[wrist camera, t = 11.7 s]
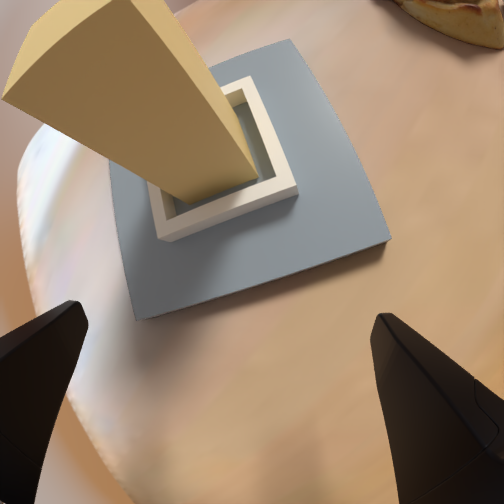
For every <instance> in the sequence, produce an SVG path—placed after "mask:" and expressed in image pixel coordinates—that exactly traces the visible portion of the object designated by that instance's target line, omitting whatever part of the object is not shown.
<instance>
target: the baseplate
mask: <svg viewBox="0 0 504 504" xmlns="http://www.w3.org/2000/svg"><path fill="white" fill-rule="evenodd" d="M208 69H209V71H210V72H211V74H212V75H213V77H214V79H215V80H216V82H217V84H218V85H219V87H220V88H221V90H222V92H223V93H224V95H225V97H226V98H227V100H228V102H229V104H230V105H231V107H232V109H233V110H234V112H235V114H236V115H237V117H238V119H239V122H240V125H241V128H242V130H243V133H244V136H245V139H246V141H247V144H248V147H249V150H250V153H251V156H252V158H253V161H254V164H255V167H256V170H257V173H258V176H259V177H258V178H256V179H253V180H250V181H248V182H245V183H243V184H240V185H237V186H235V187H232V188H230V189H227V190H225V191H222V192H220V193H217V194H215V195H213V196H210V197H208V198H205V199H203V200H201V201H198V202H196V203H193V204H191V205H188V204H187V203H185V202H183V201H181V200H180V199H178V198H176V197H174V196H173V195H171V194H169V193H167V192H166V191H164V190H162V189H161V188H159V187H157V186H155V185H154V184H152V183H150V182H148V181H147V180H145V179H143V178H141V177H140V176H138V175H136V174H134V173H132V172H131V171H129V170H127V169H125V168H124V167H122V166H120V165H118V164H117V163H115V162H113V161H111V160H110V159H109V165H110V176H111V186H112V195H113V203H114V211H115V218H116V225H117V232H118V238H119V244H120V249H121V255H122V260H123V265H124V270H125V275H126V280H127V285H128V289H129V294H130V298H131V302H132V306H133V310H134V314H135V318H136V321H137V320H144V319H149V318H152V317H156V316H159V315H163V314H166V313H170V312H173V311H177V310H180V309H183V308H187V307H190V306H194V305H197V304H200V303H204V302H207V301H210V300H214V299H217V298H220V297H224V296H227V295H230V294H233V293H237V292H240V291H243V290H246V289H249V288H252V287H256V286H259V285H262V284H265V283H268V282H271V281H274V280H277V279H281V278H284V277H287V276H290V275H293V274H296V273H299V272H302V271H305V270H308V269H311V268H314V267H317V266H320V265H323V264H326V263H328V262H331V261H334V260H337V259H340V258H343V257H346V256H349V255H352V254H354V253H357V252H360V251H363V250H366V249H368V248H371V247H374V246H377V245H380V244H382V243H385V242H388V241H389V240H390V239H392V238H391V235H390V232H389V229H388V227H387V224H386V221H385V219H384V216H383V214H382V211H381V208H380V206H379V203H378V201H377V199H376V196H375V194H374V191H373V189H372V187H371V184H370V182H369V180H368V177H367V175H366V173H365V171H364V169H363V166H362V164H361V162H360V160H359V158H358V156H357V154H356V151H355V149H354V147H353V145H352V143H351V141H350V139H349V137H348V135H347V133H346V131H345V129H344V128H343V126H342V124H341V122H340V120H339V118H338V116H337V114H336V113H335V111H334V109H333V107H332V105H331V104H330V102H329V100H328V98H327V96H326V95H325V93H324V91H323V90H322V88H321V86H320V85H319V83H318V81H317V80H316V78H315V76H314V75H313V73H312V71H311V70H310V68H309V67H308V65H307V64H306V62H305V60H304V59H303V57H302V56H301V54H300V53H299V51H298V50H297V48H296V47H295V45H294V44H293V43H292V41H291V40H290V39H287V40H283V41H280V42H277V43H274V44H271V45H267V46H264V47H261V48H259V49H256V50H253V51H250V52H247V53H245V54H242V55H239V56H237V57H234V58H232V59H229V60H227V61H224V62H222V63H219V64H217V65H215V66H212V67H210V68H208Z"/></svg>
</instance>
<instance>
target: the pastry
mask: <svg viewBox="0 0 504 504" xmlns="http://www.w3.org/2000/svg"><path fill="white" fill-rule="evenodd" d="M393 1H394V2H396V3H397V5H398V6H399V7H400V8H401V9H403V10H404V11H406V12H407V13H408V14H410V15H411V16H412V17H414V18H415V19H417V20H418V21H420V22H421V23H423V24H425V25H427V26H429V27H431V28H433V29H435V30H437V31H439V32H441V33H443V34H445V35H447V36H450V37H452V38H455V39H458V40H460V41H463V42H466V43H469V44H474V45H479V46H484V47H488V48H493V49H502V48H504V21H503V17H502V13H501V11H500V8H499V4H498V0H393Z"/></svg>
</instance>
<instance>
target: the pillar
mask: <svg viewBox="0 0 504 504" xmlns="http://www.w3.org/2000/svg"><path fill="white" fill-rule="evenodd" d="M2 100H4V101H5V102H7V103H9V104H11V105H13V106H15V107H17V108H18V109H20V110H22V111H24V112H25V113H27V114H29V115H31V116H33V117H34V118H36V119H38V120H40V121H42V122H44V123H45V124H47V125H49V126H51V127H53V128H54V129H56V130H58V131H60V132H61V133H63V134H65V135H67V136H69V137H70V138H72V139H74V140H76V141H78V142H79V143H81V144H83V145H85V146H87V147H88V148H90V149H92V150H94V151H95V152H97V153H99V154H101V155H102V156H104V157H106V158H108V159H110V160H111V161H113V162H115V163H117V164H118V165H120V166H122V167H124V168H125V169H127V170H129V171H131V172H132V173H134V174H136V175H138V176H140V177H141V178H143V179H145V180H147V181H148V182H150V183H152V184H154V185H155V186H157V187H159V188H161V189H162V190H164V191H166V192H167V193H169V194H171V195H173V196H174V197H176V198H178V199H180V200H181V201H183V202H185V203H187V204H188V205H191V204H193V203H196V202H198V201H201V200H203V199H205V198H208V197H210V196H213V195H215V194H217V193H220V192H222V191H225V190H227V189H230V188H232V187H235V186H237V185H240V184H243V183H245V182H248V181H250V180H253V179H256V178H258V177H259V176H258V173H257V170H256V167H255V164H254V161H253V158H252V156H251V153H250V150H249V147H248V144H247V141H246V139H245V136H244V133H243V130H242V128H241V125H240V122H239V119H238V117H237V115H236V114H235V112H234V110H233V109H232V107H231V105H230V104H229V102H228V100H227V98H226V97H225V95H224V93H223V92H222V90H221V88H220V87H219V85H218V84H217V82H216V80H215V79H214V77H213V75H212V74H211V72H210V71H209V69H208V67H207V66H206V64H205V63H204V61H203V59H202V58H201V56H200V55H199V53H198V51H197V50H196V48H195V47H194V45H193V44H192V42H191V41H190V39H189V38H188V36H187V35H186V33H185V31H184V30H183V28H182V27H181V25H180V24H179V22H178V21H177V19H176V18H175V17H174V15H173V14H172V12H171V11H170V9H169V8H168V6H167V5H166V3H165V2H164V1H163V0H60V1H59V2H58V3H56V4H55V5H54V6H53V7H52V8H50V9H49V11H47V12H46V13H45V14H44V15H43V16H42V17H41V18H39V19H38V21H36V22H35V23H34V24H33V25H32V27H31V29H30V31H29V32H28V34H27V36H26V38H25V40H24V43H23V45H22V47H21V49H20V51H19V54H18V56H17V58H16V61H15V63H14V65H13V68H12V70H11V73H10V76H9V78H8V81H7V84H6V87H5V89H4V93H3V95H2Z"/></svg>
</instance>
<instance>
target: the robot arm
mask: <svg viewBox="0 0 504 504" xmlns="http://www.w3.org/2000/svg"><path fill="white" fill-rule="evenodd" d="M87 330H88V320H87V317H86V315H85V312H84V310H83V307H82V305H81V303H80V302H78V301H73V300H69V301H66V302H64V303H63V304H61V305H59V306H57V307H55V308H53V309H51V310H49V311H47V312H46V313H44V314H42V315H40V316H38V317H36V318H34V319H33V320H31V321H29V322H27V323H25V324H24V325H22V326H20V327H18V328H16V329H15V330H13V331H11V332H9V333H7V334H6V335H4V336H2V337H0V504H3V503H5V504H34V502H35V497H36V492H37V487H38V483H39V479H40V474H41V470H42V466H43V461H44V458H45V454H46V451H47V447H48V444H49V441H50V437H51V434H52V431H53V428H54V425H55V421H56V419H57V415H58V413H59V410H60V407H61V404H62V401H63V398H64V396H65V393H66V391H67V388H68V385H69V383H70V380H71V378H72V375H73V373H74V370H75V367H76V364H77V361H78V358H79V355H80V352H81V348H82V345H83V342H84V339H85V336H86V333H87ZM370 343H371V349H372V356H373V363H374V370H375V377H376V384H377V390H378V394H379V398H380V402H381V407H382V411H383V415H384V420H385V425H386V429H387V434H388V439H389V444H390V449H391V454H392V460H393V466H394V472H395V478H396V484H397V491H398V498H399V504H504V400H503V399H501V398H500V397H499V396H497V395H496V394H495V393H493V392H492V391H491V390H490V389H488V388H487V387H486V386H484V385H483V384H482V383H481V382H480V381H478V380H477V379H474V377H473V376H472V375H471V374H470V373H468V372H467V371H466V370H465V369H463V368H462V367H461V366H460V365H458V364H457V363H456V362H455V361H453V360H452V359H451V358H450V357H448V356H447V355H446V354H445V353H443V352H442V351H441V350H439V349H438V348H437V347H436V346H434V345H433V344H432V343H430V342H429V341H428V340H427V339H425V338H424V337H423V336H421V335H420V334H419V333H417V332H416V331H415V330H414V329H412V328H411V327H410V326H408V325H407V324H406V323H404V322H403V321H402V320H400V319H399V318H398V317H396V316H395V315H394V314H392V313H380V314H378V315H377V317H376V320H375V323H374V326H373V329H372V332H371V337H370Z"/></svg>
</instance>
